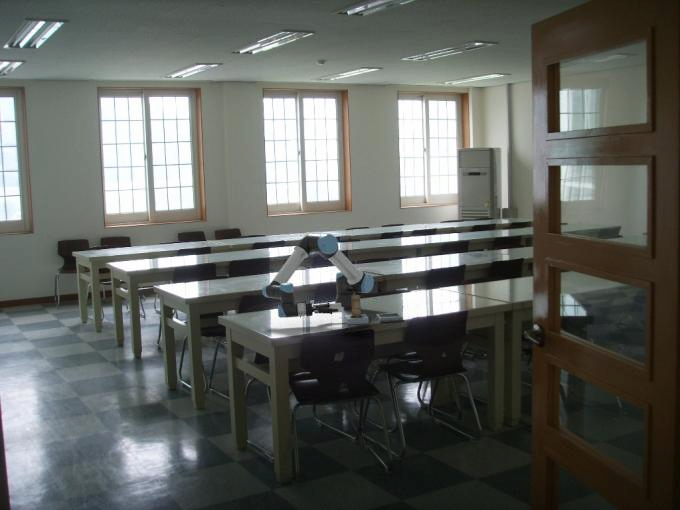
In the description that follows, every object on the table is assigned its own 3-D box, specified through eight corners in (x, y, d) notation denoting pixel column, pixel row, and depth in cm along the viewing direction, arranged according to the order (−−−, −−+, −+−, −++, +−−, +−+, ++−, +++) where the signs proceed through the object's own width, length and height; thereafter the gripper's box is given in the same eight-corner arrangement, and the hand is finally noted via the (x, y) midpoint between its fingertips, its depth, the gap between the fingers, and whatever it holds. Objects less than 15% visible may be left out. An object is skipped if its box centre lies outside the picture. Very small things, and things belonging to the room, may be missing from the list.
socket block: (345, 320, 435) (344, 315, 434) (365, 319, 436) (365, 314, 436) (347, 324, 423) (347, 319, 422) (368, 323, 424) (368, 317, 424)
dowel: (351, 321, 432) (350, 295, 430) (360, 320, 432) (359, 295, 430) (352, 322, 427) (351, 296, 425) (361, 322, 427) (360, 296, 425)
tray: (376, 318, 437) (376, 314, 437) (398, 316, 438) (398, 312, 438) (380, 322, 424) (379, 318, 424) (402, 321, 426) (402, 316, 425)
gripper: (304, 312, 438) (340, 310, 440) (306, 320, 413) (345, 318, 415) (303, 299, 437) (339, 297, 439) (306, 307, 412) (344, 304, 415)
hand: (342, 307), depth 427 cm, fingers open, 13 cm apart
